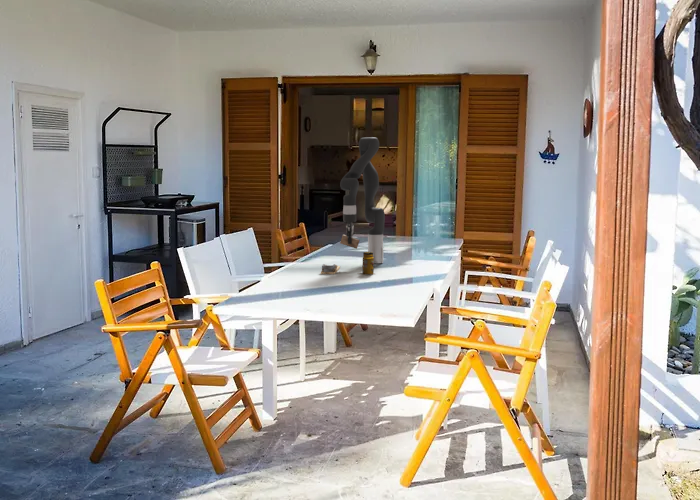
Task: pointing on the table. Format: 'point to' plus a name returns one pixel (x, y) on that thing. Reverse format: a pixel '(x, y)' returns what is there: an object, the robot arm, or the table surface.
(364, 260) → the condiment
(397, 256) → the table surface
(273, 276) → the table surface
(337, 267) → the guide board
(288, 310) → the table surface
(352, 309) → the table surface
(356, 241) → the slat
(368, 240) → the robot arm
